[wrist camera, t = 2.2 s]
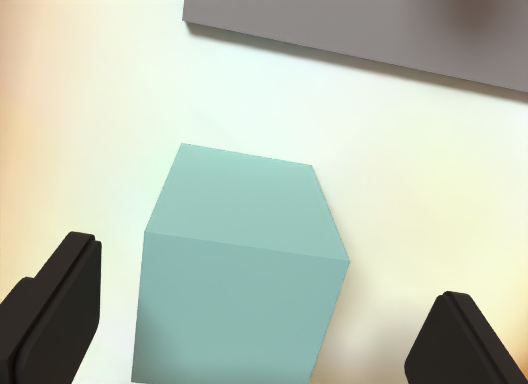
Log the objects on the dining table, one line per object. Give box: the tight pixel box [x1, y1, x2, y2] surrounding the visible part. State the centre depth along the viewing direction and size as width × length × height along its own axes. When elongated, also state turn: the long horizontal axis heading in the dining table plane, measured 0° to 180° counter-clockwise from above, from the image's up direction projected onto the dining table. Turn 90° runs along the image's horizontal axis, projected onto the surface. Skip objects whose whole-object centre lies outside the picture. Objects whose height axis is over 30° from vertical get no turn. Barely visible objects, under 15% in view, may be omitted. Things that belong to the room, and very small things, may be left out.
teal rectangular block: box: [131, 143, 350, 384], centre depth 14 cm, size 5×5×7 cm
